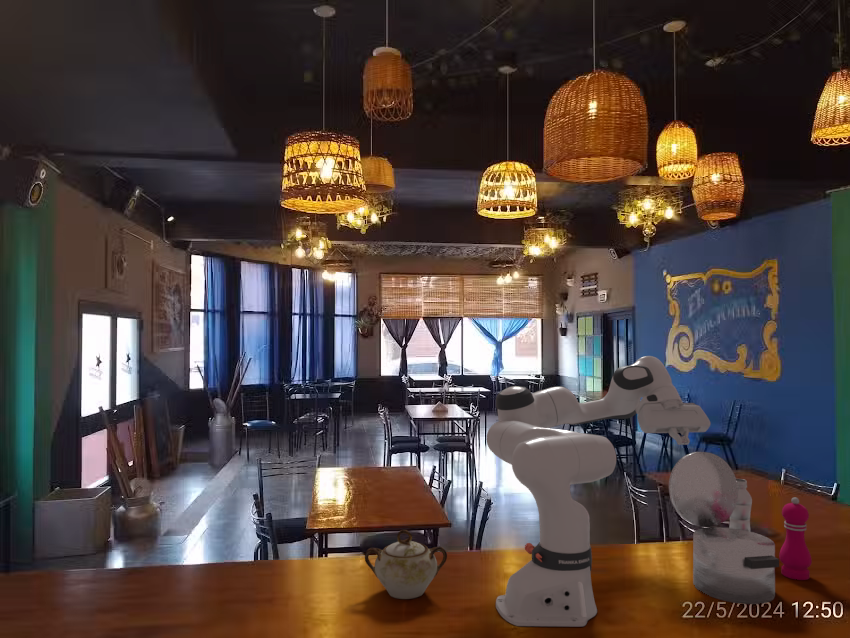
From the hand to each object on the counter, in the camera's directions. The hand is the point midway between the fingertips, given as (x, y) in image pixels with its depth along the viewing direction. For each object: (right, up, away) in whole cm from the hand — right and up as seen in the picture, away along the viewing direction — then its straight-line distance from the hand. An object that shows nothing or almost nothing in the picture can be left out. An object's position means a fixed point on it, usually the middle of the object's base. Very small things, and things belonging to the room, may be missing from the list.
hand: (684, 443), depth 181 cm
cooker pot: (+3, -31, -22) cm, 38 cm away
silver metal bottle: (+18, -31, +4) cm, 36 cm away
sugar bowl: (-77, -31, -25) cm, 86 cm away
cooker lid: (+1, -10, -11) cm, 15 cm away
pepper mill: (+23, -31, -14) cm, 41 cm away
